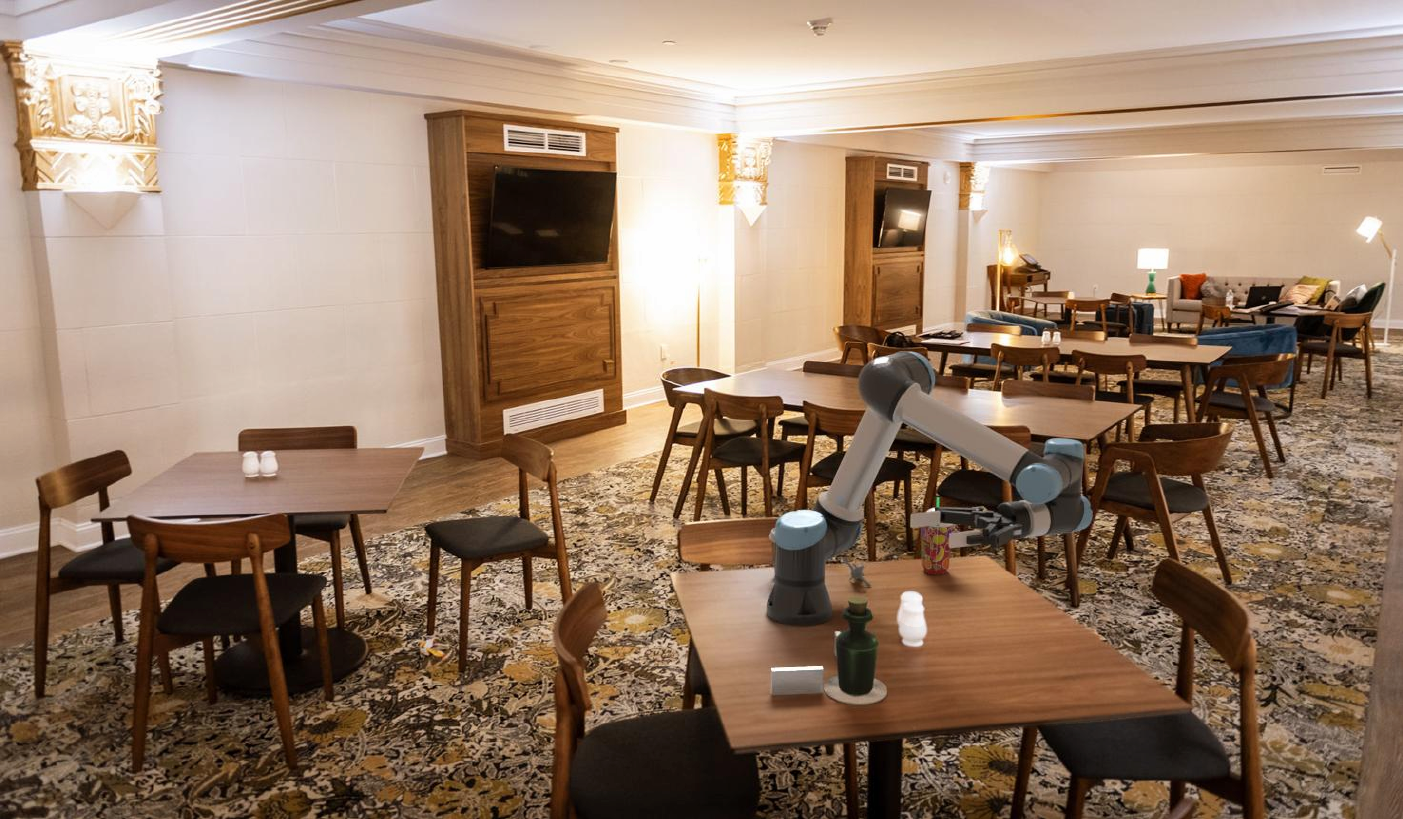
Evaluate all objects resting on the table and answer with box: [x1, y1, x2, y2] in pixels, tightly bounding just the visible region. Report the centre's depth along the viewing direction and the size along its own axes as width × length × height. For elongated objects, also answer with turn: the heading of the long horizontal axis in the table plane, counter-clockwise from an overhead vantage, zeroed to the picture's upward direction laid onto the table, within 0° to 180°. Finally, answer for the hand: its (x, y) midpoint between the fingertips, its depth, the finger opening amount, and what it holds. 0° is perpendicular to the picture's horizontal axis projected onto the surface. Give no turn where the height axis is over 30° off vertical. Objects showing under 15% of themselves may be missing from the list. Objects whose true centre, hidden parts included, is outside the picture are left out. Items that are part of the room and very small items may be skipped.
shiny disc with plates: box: [770, 631, 888, 706], centre depth 189 cm, size 19×24×5 cm
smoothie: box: [920, 496, 954, 576], centre depth 250 cm, size 8×8×20 cm
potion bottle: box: [836, 595, 879, 695], centre depth 185 cm, size 8×8×18 cm
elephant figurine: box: [841, 557, 872, 587], centre depth 245 cm, size 10×6×9 cm
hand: (929, 530), depth 188 cm, fingers open, 13 cm apart
